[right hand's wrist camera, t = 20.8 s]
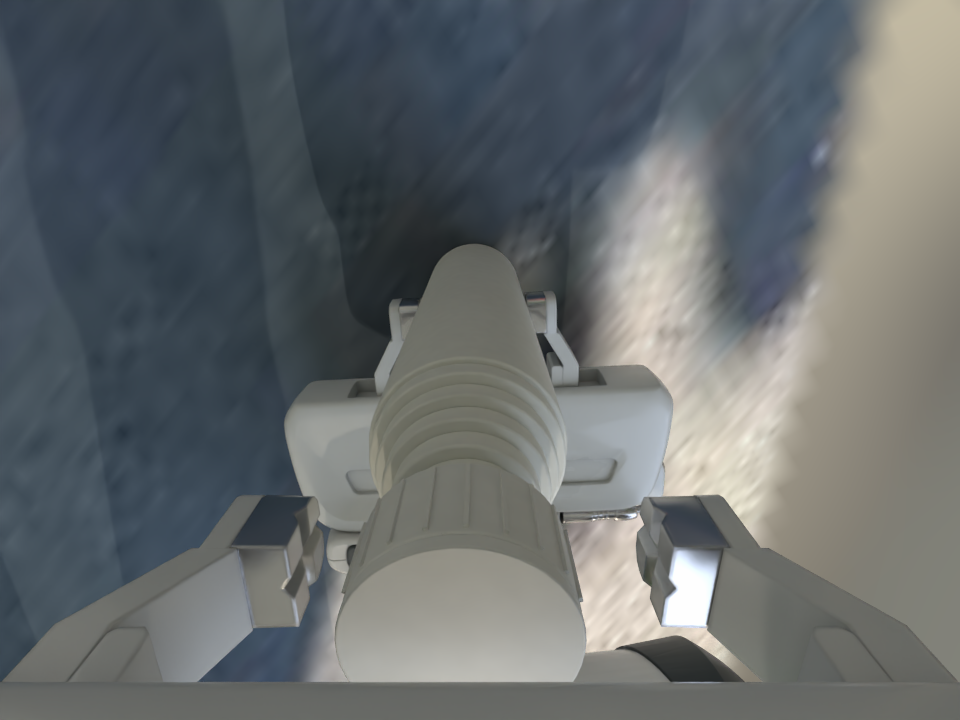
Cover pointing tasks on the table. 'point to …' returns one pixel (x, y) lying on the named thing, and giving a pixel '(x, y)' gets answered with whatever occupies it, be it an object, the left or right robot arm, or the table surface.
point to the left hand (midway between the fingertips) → (471, 297)
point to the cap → (461, 584)
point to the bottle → (470, 382)
